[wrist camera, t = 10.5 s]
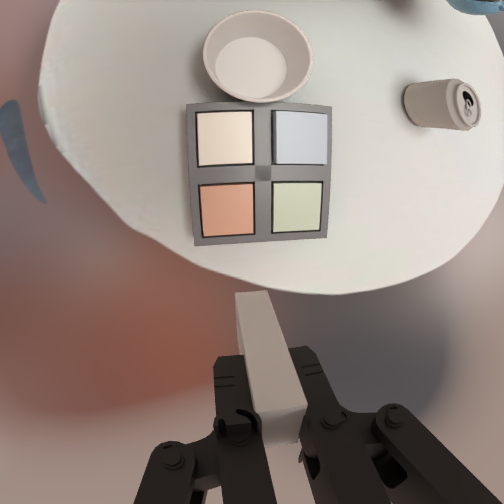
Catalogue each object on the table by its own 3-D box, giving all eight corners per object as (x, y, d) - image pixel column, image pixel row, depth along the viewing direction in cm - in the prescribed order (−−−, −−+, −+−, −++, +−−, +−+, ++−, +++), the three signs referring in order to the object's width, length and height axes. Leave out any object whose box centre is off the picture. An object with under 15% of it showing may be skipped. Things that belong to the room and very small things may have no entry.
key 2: (201, 183, 32) (200, 186, 30) (249, 181, 33) (252, 184, 31) (204, 229, 35) (203, 236, 32) (250, 226, 35) (253, 233, 33)
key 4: (198, 115, 29) (197, 113, 27) (248, 113, 30) (251, 111, 27) (200, 163, 31) (199, 165, 29) (249, 161, 32) (252, 162, 30)
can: (434, 96, 32) (486, 96, 21) (428, 133, 35) (481, 141, 24) (404, 75, 30) (456, 67, 19) (397, 115, 33) (452, 115, 22)
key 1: (269, 180, 33) (273, 183, 31) (314, 180, 34) (321, 183, 32) (269, 225, 36) (273, 231, 33) (312, 223, 36) (319, 229, 34)
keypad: (189, 108, 30) (186, 104, 26) (319, 109, 32) (331, 106, 28) (196, 235, 36) (194, 246, 33) (316, 228, 38) (326, 237, 35)
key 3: (271, 113, 29) (276, 110, 26) (319, 115, 29) (327, 114, 27) (271, 161, 31) (276, 163, 29) (318, 162, 32) (326, 164, 29)
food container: (273, 124, 32) (286, 121, 26) (188, 88, 29) (182, 76, 23) (310, 54, 28) (329, 40, 22) (230, 18, 25) (234, -4, 19)
